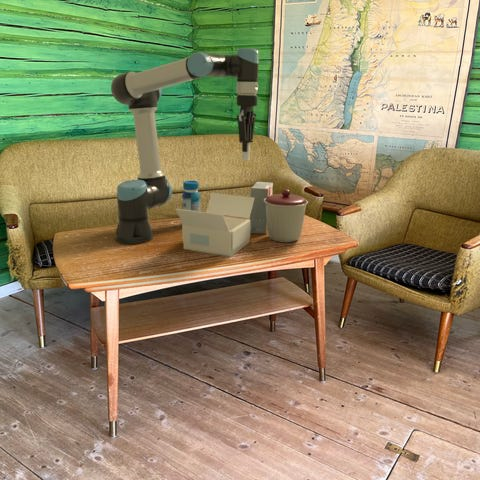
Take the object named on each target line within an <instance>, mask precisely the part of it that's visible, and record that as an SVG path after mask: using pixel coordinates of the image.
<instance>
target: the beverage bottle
mask: <svg viewBox="0 0 480 480" xmlns="http://www.w3.org/2000/svg"><path fill="white" fill-rule="evenodd" d="M182 184H183V185H182V188H183V189H182V190H183V193H182V195H181V199H182V201H181V209H185V210H192V211H200V212H201V204H202V202H201V194H200V192H199V191H198V190H199V187H200V185H199V181H197V180H184V181H183V183H182Z"/></svg>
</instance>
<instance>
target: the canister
mask: <svg viewBox="0 0 480 480" xmlns="http://www.w3.org/2000/svg"><path fill="white" fill-rule="evenodd" d="M291 193H292V192H291V191H290V189H288V188H286V189H283V190H281V193H274V194H272V195H271V196H268V197H267V198H265V199H264V202H265V207H266V220H267V230H268V231H267V235H268V238H270V240H272V241H275V242H279V243H292V242H296V241H298V240H299V239H300V237H301V235H302V230H303V226H304V220H305V214H306V208H307V205H308V204H309V201H308V200H307V199H306V198H305V197H303V196H301V195H298V194H291Z"/></svg>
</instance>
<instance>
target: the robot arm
mask: <svg viewBox="0 0 480 480" xmlns="http://www.w3.org/2000/svg"><path fill="white" fill-rule="evenodd" d="M259 63H260V62H259V50H258V49H256V48H251V47H250V48H248V47H247V48H246V47H245V48H244V47H243V48H238V49H237V50H236V54H218V53H209V52H203V51H200V52H199V51H198V52H193V53H192V54H191V55H190V56H189V57H185V58H181V59H179V60H175V61H173V62H169V63H165V64H163V65H159V66H156V67H153V68H152V67H151V68H149V69H145V70H143V71H139V72H135V71H129V72H125V73H120V74H118V75H116V76H115V77H114V78H113V80H112V82H111V85H110V90H111V95H112V97H113V99H115V100H116V101H117V102H118V103H120V104H122V105H127V106H128V111H130V112H131V113H132V114H133V122H134V130H135V138H136V146H137V154H138V156H137V157H138V162H139V164H138V165H139V171H140V172H139V174H138V175H137V179H131V180H126V181H123V182H120V183H119V184H118V185H117V187H116V197H117V200H116V201H117V213H118V224H117V227H116V230H115V235H114V236H115V241H117V242H118V243H120V244H127V245H128V244H129V245H130V244H131V245H134V244H144V243H147V242H149V241H150V242H151V241H152V240H153V238H154V232H153V230H152V227H151V224H150V222H149V216H148V214H149V213H148V210H152V209H154V208H156V207H161V206H163V205H164V204H166V203H168V202H169V201H170V200H171V197H172V195H173V187H172V184H171V183H170V181H169V179H167V178H166V174H165V173H164V172H163V171H162V169H161V159H160V158H161V157H160V150H159V140H158V135H157V134H158V131H157V130H158V129H157V123H156V122H157V121H156V113H155V112H156V111H157V110H158V108H159V107H158V102H159V101H160V98H161V97H162V89H164V88H165V89H166V88H169V87H173V86H176V85H179V84H183V83H186V82H190V81H194V80H198V79H201V78H206V77H214V78H224V77H225V78H230V77H232V78H236V94H237V95H236V106H237V107H240V109H239V114H238V115H236V120H237V127H238V129H237V130H238V140H239V141H238V142H239V143H241V161H246V162H247V161H251V143H253V142H254V140H253V139H254V131H255V123H256V118H257V114H256V113H254V107H257V106H258V95H257V94H258V90H259V89H258V88H259V78H258V77H259Z"/></svg>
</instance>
